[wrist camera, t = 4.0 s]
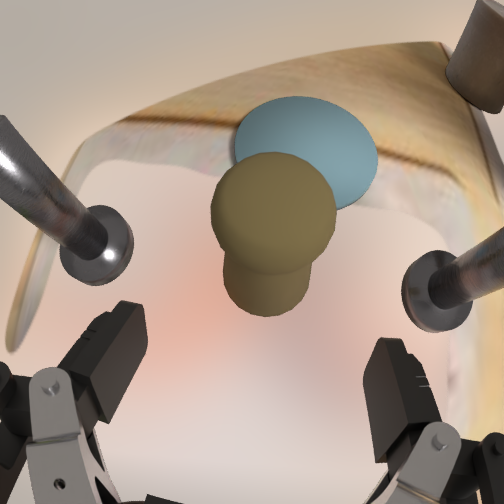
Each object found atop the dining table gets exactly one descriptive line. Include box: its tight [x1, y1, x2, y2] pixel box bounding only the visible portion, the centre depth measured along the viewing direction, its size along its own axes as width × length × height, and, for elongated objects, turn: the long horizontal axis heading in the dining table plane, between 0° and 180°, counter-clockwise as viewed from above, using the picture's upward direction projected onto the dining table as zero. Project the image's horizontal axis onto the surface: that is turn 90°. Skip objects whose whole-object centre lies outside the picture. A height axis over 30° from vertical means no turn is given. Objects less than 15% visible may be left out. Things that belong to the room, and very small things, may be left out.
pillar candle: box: [446, 0, 504, 114], centre depth 23 cm, size 10×10×15 cm
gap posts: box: [0, 115, 504, 333], centre depth 15 cm, size 32×6×14 cm, turn 82°
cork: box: [211, 152, 337, 317], centre depth 17 cm, size 6×6×11 cm
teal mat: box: [235, 96, 378, 210], centre depth 25 cm, size 12×12×1 cm
